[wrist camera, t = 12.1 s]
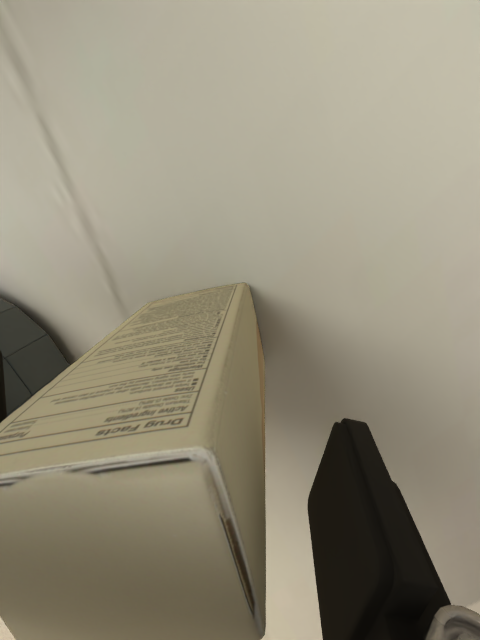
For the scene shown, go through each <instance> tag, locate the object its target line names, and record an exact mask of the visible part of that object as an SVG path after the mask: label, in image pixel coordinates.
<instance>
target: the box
mask: <svg viewBox="0 0 480 640" xmlns="http://www.w3.org/2000/svg"><path fill="white" fill-rule="evenodd" d="M265 603H266V520H265V360H264V354H263V348H262V343H261V338H260V333H259V328H258V323H257V318H256V313H255V309H254V304H253V300H252V296H251V292H250V288H249V285H248V284H246V283H238V284H232V285H226V286H221V287H216V288H211V289H206V290H201V291H197V292H192V293H188V294H183V295H178V296H174V297H169V298H165V299H161V300H157V301H153V302H149V303H147V304H146V305H145V306H143V307H142V308H141V309H140V310H139V311H137V312H136V313H135V314H134V315H132V316H131V317H130V318H129V319H128V320H126V321H125V322H124V323H122V324H121V325H120V326H119V327H118V328H116V329H115V330H114V331H113V332H111V333H110V334H109V335H107V336H106V337H105V338H104V339H103V340H102V341H100V342H99V343H98V344H96V345H95V346H94V347H93V348H91V349H90V350H89V351H88V352H87V353H85V354H84V355H83V356H82V357H80V358H79V359H78V360H77V361H76V362H74V363H73V364H72V365H70V366H69V367H68V368H67V369H66V370H64V371H63V372H62V373H61V374H59V375H58V376H57V377H56V378H55V379H54V380H52V381H51V382H50V383H49V384H47V385H46V386H45V387H44V388H42V389H41V390H40V391H38V392H37V393H36V394H35V395H34V396H32V397H31V398H30V399H29V400H28V401H27V402H25V403H24V404H23V405H22V406H21V407H19V408H18V409H17V410H15V411H14V412H13V413H12V414H10V415H9V416H8V417H7V418H6V419H4V420H3V421H2V422H1V423H0V616H1V618H2V619H3V621H4V623H5V624H6V626H7V627H8V629H9V630H10V632H11V633H12V635H13V636H14V637H15V639H16V640H260V639H262V638H263V636H264V635H265V627H266V607H265Z"/></svg>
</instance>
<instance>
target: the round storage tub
mask: <svg viewBox="0 0 480 640" xmlns="http://www.w3.org/2000/svg"><path fill="white" fill-rule="evenodd" d="M0 351H1V352H2V356H3V370H4V383H5V396H6V410H7V417H8V416H9V415H10V414H12V413H13V412H14V411H15V410H17V409H18V408H19V407H21V406H22V405H23V404H24V403H25V402H27V401H28V400H29V399H30V398H31V397H32V396H34V395H35V394H36V393H37V392H38V391H40V390H41V389H42V388H44V387H45V386H46V385H47V384H49V383H50V382H51V381H52V380H54V379H55V378H56V377H57V376H58V375H59V374H61V373H62V372H63V371H64V370H66V369H67V368H68V367H69V364H68V362H67V361H66V359H65V358H64V356H63V355H62V354H61V352H60V351H59V349H58V348H57V346H56V345H55V343H54V342H53V340H52V339H51V337H50V336H49V335H48V334H47V333H46V332H45V331H44V330H43V329H42V328H41V327H40V326H38V325H37V324H36V323H35V322H34V321H33V320H32V319H31V318H29V317H28V316H27V315H26V314H25V313H24V312H23V311H21V310H20V309H19V308H18V307H16V306H15V305H14V304H12V303H10V302H8V301H6V300H4V299H2V298H0Z"/></svg>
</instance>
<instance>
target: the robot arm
mask: <svg viewBox="0 0 480 640" xmlns="http://www.w3.org/2000/svg"><path fill="white" fill-rule="evenodd" d="M6 418H7V410H6V396H5V383H4V370H3V356H2V352H1V351H0V423H1V422H2V421H3V420H4V419H6ZM308 516H309V524H310V533H311V541H312V550H313V559H314V567H315V576H316V584H317V593H318V601H319V610H320V618H321V627H322V636H323V640H480V615H479V614H478V613H476V612H474V611H472V610H470V609H467V608H465V607H463V606H457V605H451V603H450V601H449V598H448V596H447V594H446V592H445V590H444V587H443V585H442V583H441V581H440V578H439V576H438V574H437V572H436V569H435V567H434V565H433V563H432V561H431V558H430V556H429V554H428V552H427V549H426V547H425V545H424V543H423V541H422V538H421V536H420V534H419V532H418V529H417V527H416V525H415V523H414V520H413V518H412V516H411V514H410V512H409V509H408V507H407V505H406V503H405V500H404V498H403V496H402V494H401V492H400V489H399V488H398V486H397V484H396V483H394V482H393V481H392V480H391V478H390V476H389V473H388V471H387V469H386V466H385V464H384V462H383V460H382V457H381V455H380V453H379V450H378V448H377V446H376V443H375V441H374V439H373V437H372V434H371V432H370V430H369V427H368V425H367V424H366V423H365V422H360V421H355V420H351V419H346V418H344V419H343V420H342V421H341V423H339V422H335V423H334V425H333V428H332V431H331V434H330V436H329V439H328V442H327V445H326V448H325V451H324V454H323V457H322V459H321V462H320V465H319V468H318V471H317V474H316V477H315V480H314V482H313V485H312V488H311V491H310V494H309V498H308Z"/></svg>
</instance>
